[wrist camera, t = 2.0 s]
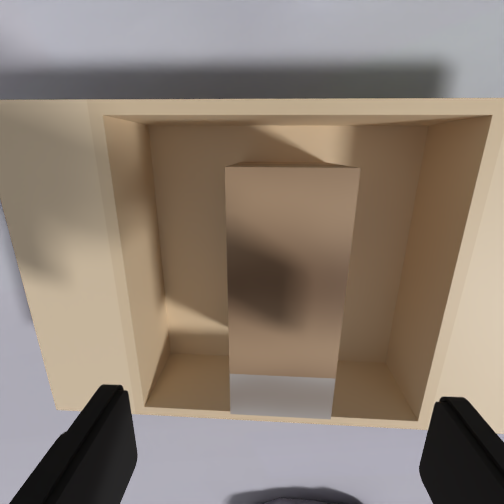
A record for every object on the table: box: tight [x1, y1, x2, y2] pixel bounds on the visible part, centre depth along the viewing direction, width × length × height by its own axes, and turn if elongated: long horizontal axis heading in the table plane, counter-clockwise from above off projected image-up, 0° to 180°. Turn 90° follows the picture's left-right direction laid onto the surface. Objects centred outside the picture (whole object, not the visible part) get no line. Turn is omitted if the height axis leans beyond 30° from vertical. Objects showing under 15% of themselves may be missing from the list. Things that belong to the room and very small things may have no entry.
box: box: [225, 162, 361, 419], centre depth 16 cm, size 12×5×7 cm, turn 0°
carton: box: [0, 98, 504, 434], centre depth 17 cm, size 17×27×6 cm, turn 90°
